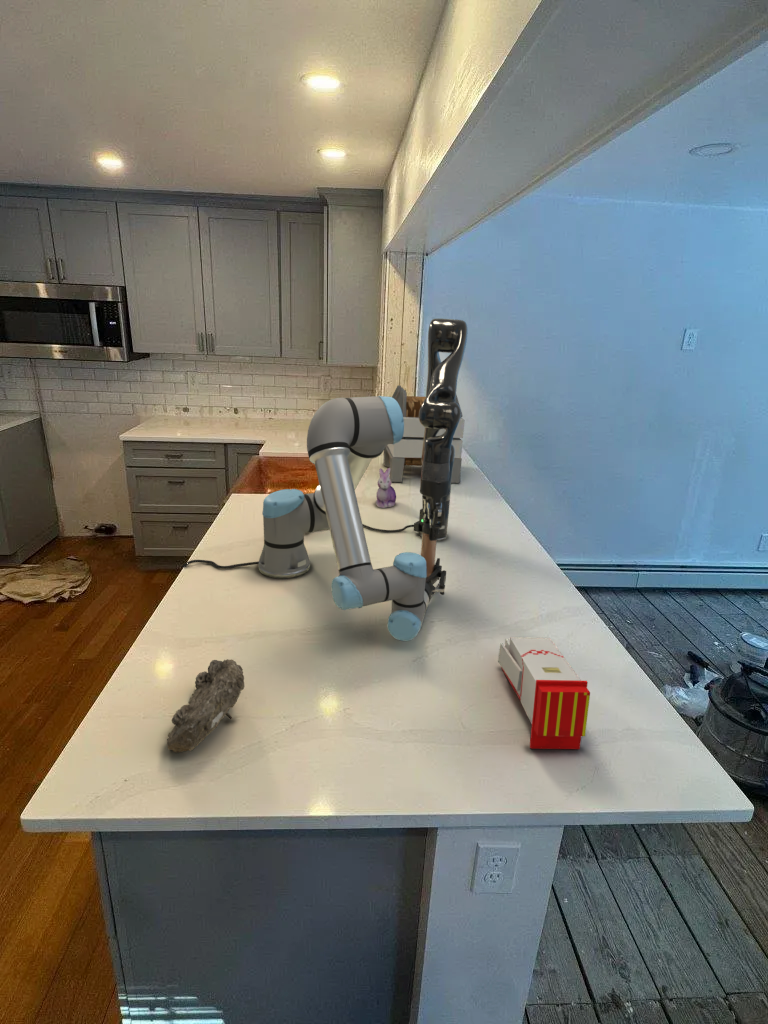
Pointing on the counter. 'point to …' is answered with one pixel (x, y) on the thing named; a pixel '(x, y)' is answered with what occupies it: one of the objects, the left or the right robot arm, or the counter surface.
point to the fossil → (206, 705)
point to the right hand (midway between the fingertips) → (430, 536)
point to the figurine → (385, 490)
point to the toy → (546, 691)
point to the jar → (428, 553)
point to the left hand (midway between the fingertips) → (430, 561)
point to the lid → (427, 528)
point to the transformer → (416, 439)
